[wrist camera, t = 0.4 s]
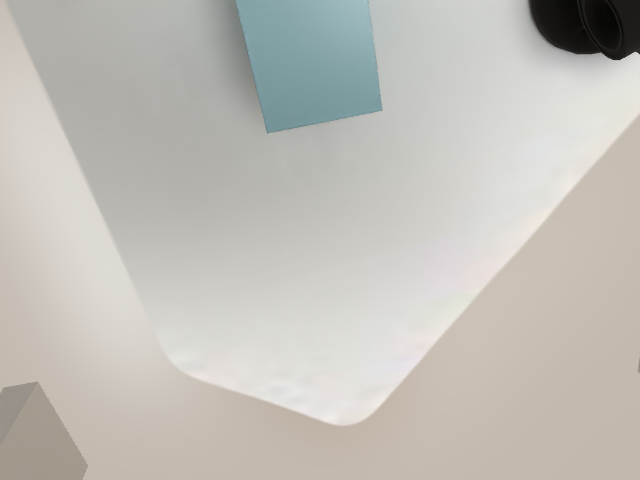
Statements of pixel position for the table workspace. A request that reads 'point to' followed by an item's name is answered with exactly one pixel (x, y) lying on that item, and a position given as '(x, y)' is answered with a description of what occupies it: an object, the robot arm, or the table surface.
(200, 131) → the table surface
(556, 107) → the table surface
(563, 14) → the webcam
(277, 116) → the charger
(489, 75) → the table surface
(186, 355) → the table surface
